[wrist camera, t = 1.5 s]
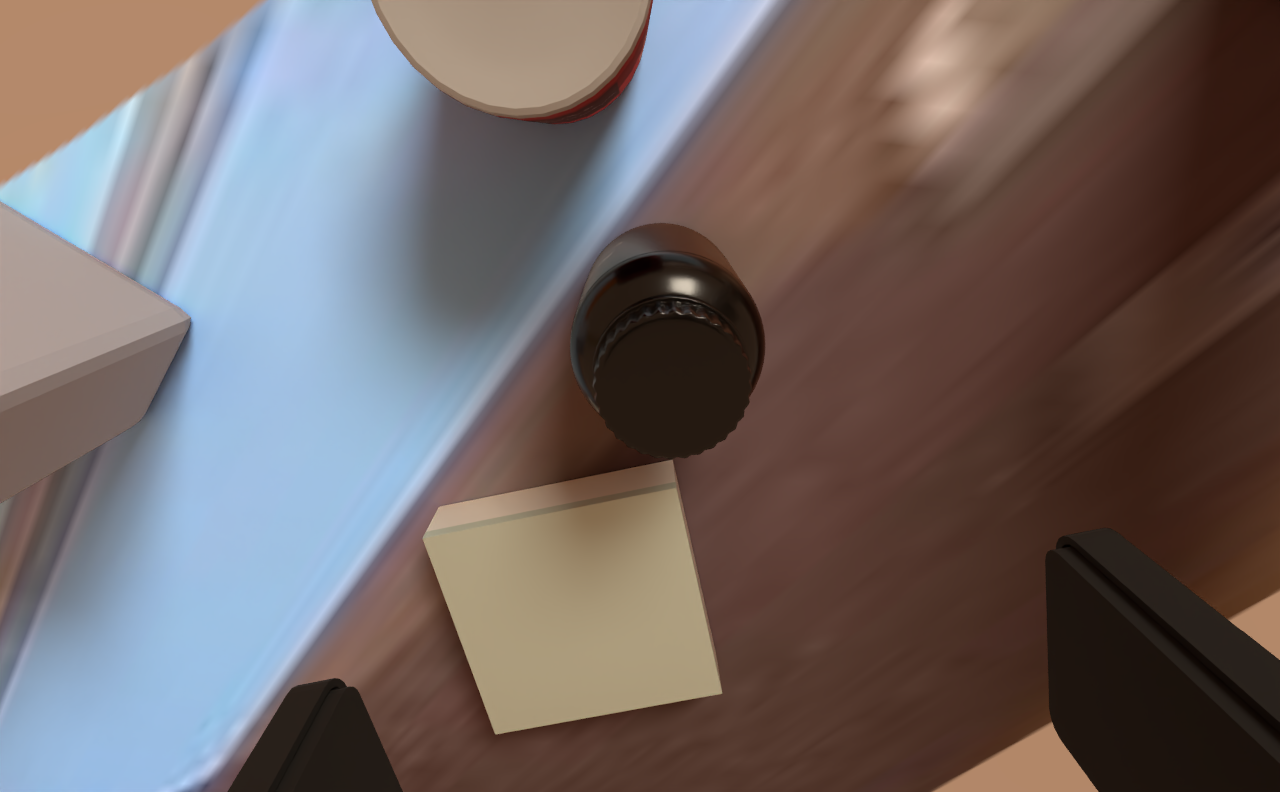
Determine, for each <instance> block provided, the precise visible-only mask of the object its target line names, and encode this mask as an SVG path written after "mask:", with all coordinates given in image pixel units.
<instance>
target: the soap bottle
mask: <svg viewBox="0 0 1280 792" xmlns="http://www.w3.org/2000/svg"><path fill="white" fill-rule="evenodd" d="M190 320H191V317H190V316H189V315H188V314H186V313H185V312H184V311H183V310H182V309H181V308H179V307H178V306H176V305H174V304H173V303H171V302H169V301H168V300H166V299H164V298H163V297H161V296H159V295H157V294H156V293H154V292H152V291H151V290H149V289H147V288H146V287H144V286H142V285H141V284H139V283H137V282H135V281H134V280H132V279H130V278H129V277H127V276H125V275H124V274H122V273H120V272H119V271H117V270H115V269H114V268H112V267H110V266H108V265H107V264H105V263H103V262H102V261H100V260H98V259H97V258H95V257H93V256H92V255H90V254H88V253H87V252H85V251H83V250H81V249H80V248H78V247H76V246H75V245H73V244H71V243H70V242H68V241H66V240H65V239H63V238H61V237H60V236H58V235H56V234H54V233H53V232H51V231H49V230H48V229H46V228H44V227H43V226H41V225H39V224H38V223H36V222H34V221H33V220H31V219H29V218H27V217H26V216H24V215H22V214H21V213H19V212H17V211H16V210H14V209H12V208H11V207H9V206H7V205H6V204H4V203H2V202H0V503H2V502H4V501H5V500H7V499H9V498H10V497H12V496H14V495H16V494H17V493H19V492H21V491H23V490H24V489H26V488H28V487H29V486H31V485H33V484H35V483H36V482H38V481H40V480H42V479H43V478H45V477H47V476H48V475H50V474H52V473H54V472H55V471H57V470H59V469H60V468H62V467H64V466H66V465H67V464H69V463H71V462H73V461H74V460H76V459H78V458H79V457H81V456H83V455H85V454H86V453H88V452H90V451H92V450H93V449H95V448H97V447H98V446H100V445H102V444H104V443H105V442H107V441H109V440H111V439H112V438H114V437H116V436H117V435H119V434H121V433H123V432H124V431H126V430H128V429H129V428H131V427H133V426H134V425H135V424H137V423H138V422H139V421H140V420H141V419H142V417H143V416H144V415H145V413H146V412H147V410H148V408H149V406H150V404H151V402H152V400H153V398H154V396H155V394H156V392H157V390H158V388H159V386H160V384H161V382H162V380H163V378H164V376H165V374H166V372H167V370H168V368H169V366H170V364H171V362H172V360H173V358H174V356H175V354H176V352H177V350H178V348H179V346H180V344H181V342H182V340H183V338H184V336H185V334H186V332H187V330H188V328H189V326H190Z"/></svg>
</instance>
